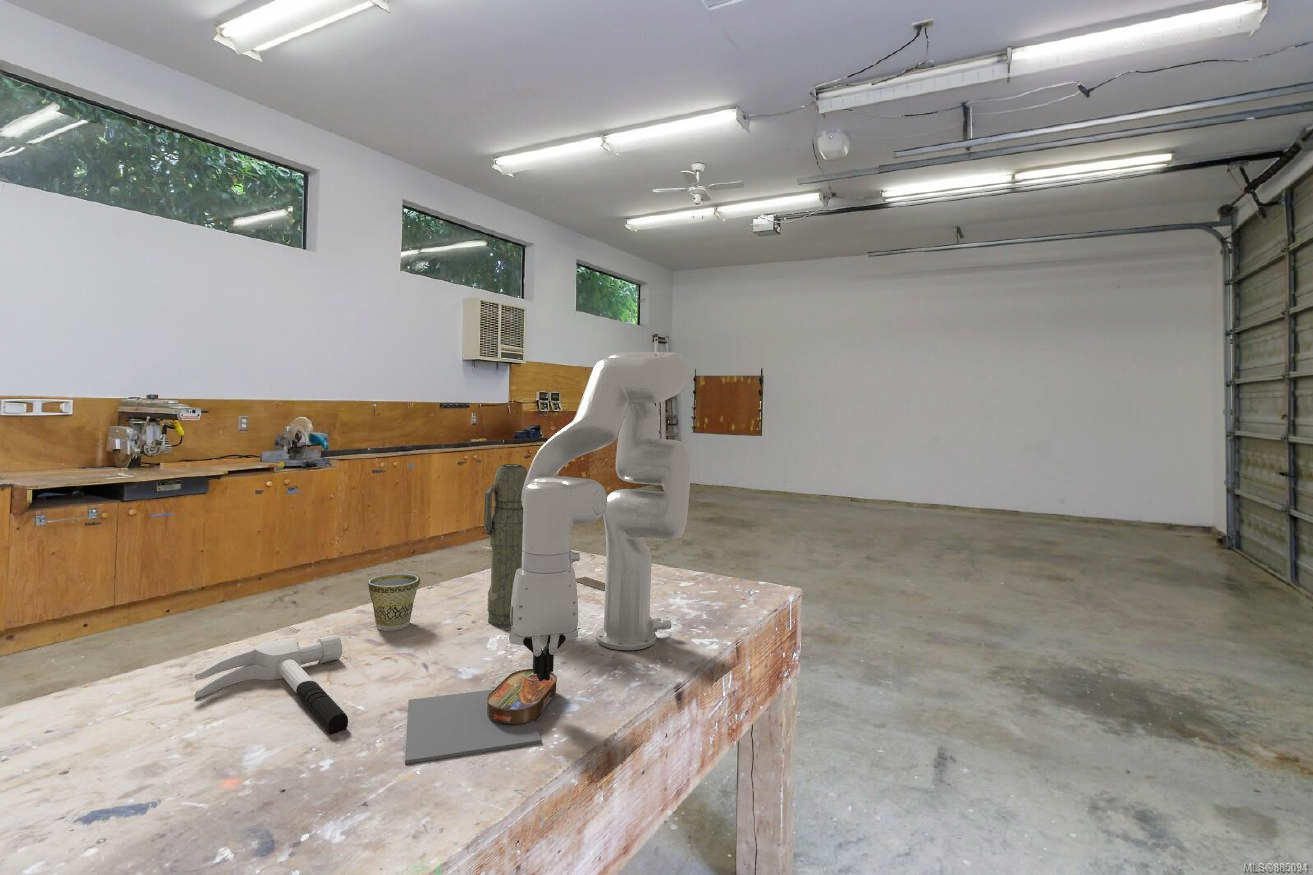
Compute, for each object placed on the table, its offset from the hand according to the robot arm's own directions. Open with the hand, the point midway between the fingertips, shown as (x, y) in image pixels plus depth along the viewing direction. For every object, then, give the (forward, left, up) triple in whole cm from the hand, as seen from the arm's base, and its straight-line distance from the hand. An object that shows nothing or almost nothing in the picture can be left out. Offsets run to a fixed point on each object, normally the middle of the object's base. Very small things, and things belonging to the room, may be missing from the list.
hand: (542, 677), depth 97 cm
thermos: (0, -44, -6) cm, 44 cm away
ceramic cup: (+23, -48, -6) cm, 53 cm away
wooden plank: (-27, -66, -6) cm, 72 cm away
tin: (-1, -1, -4) cm, 4 cm away
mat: (+11, 0, -6) cm, 12 cm away
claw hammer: (+37, -15, -6) cm, 40 cm away
